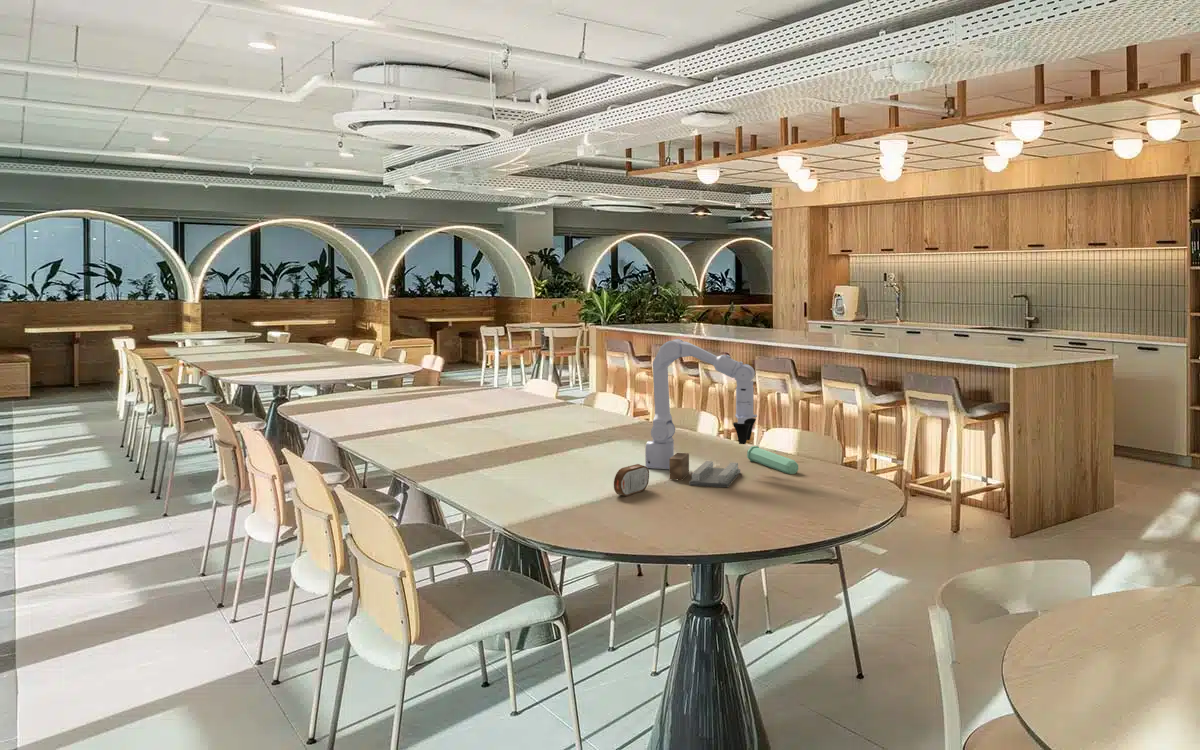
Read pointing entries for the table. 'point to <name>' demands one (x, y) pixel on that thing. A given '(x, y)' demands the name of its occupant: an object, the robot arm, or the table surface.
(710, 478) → the slot base
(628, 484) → the tin
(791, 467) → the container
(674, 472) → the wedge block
